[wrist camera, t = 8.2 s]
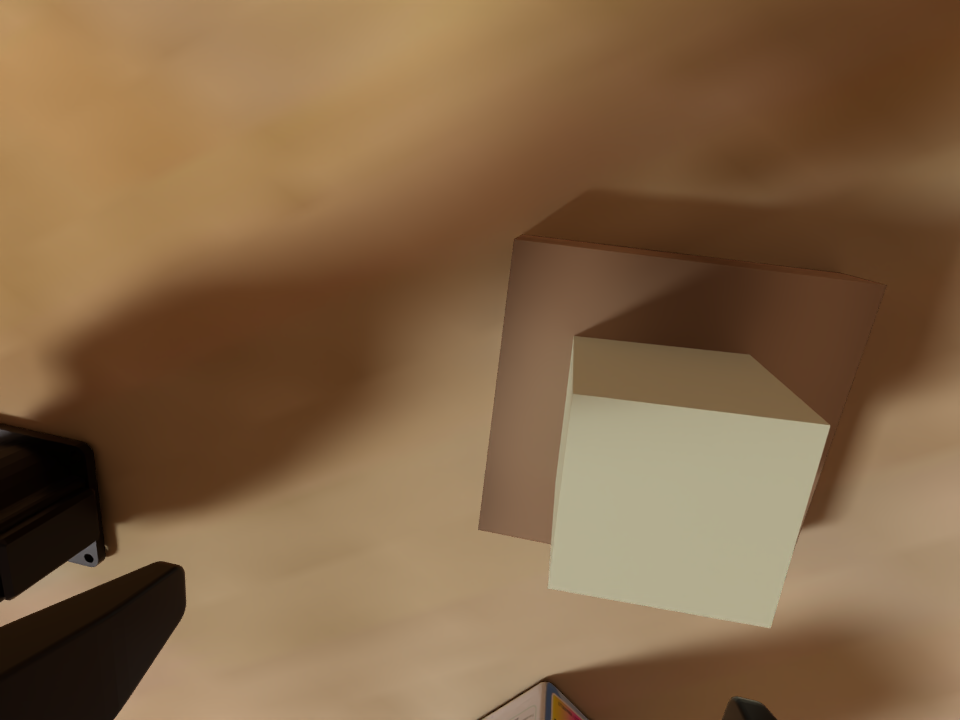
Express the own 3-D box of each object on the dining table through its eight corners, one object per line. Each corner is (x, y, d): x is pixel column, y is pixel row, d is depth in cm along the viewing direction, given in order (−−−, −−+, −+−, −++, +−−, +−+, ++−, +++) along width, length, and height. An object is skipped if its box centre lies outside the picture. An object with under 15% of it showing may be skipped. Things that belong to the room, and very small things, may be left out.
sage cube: (555, 482, 17) (547, 588, 12) (573, 335, 16) (572, 393, 11) (714, 505, 16) (770, 628, 12) (749, 354, 15) (829, 425, 10)
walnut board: (491, 485, 21) (478, 529, 18) (523, 233, 18) (513, 239, 15) (750, 534, 20) (780, 590, 17) (833, 271, 17) (886, 285, 14)
